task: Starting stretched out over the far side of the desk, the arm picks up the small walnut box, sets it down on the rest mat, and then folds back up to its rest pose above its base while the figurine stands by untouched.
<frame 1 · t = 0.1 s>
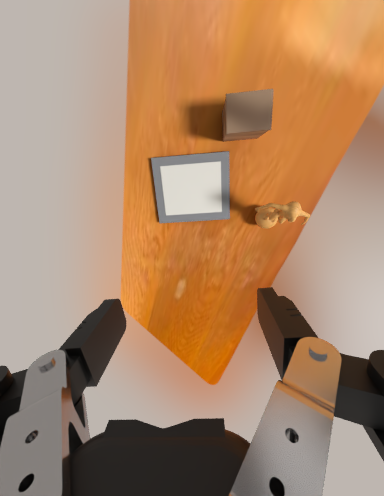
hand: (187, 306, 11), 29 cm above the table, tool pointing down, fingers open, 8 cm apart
walnut box: (240, 125, 33), on the table
rest mat: (192, 189, 37), on the table
figurine: (264, 210, 38), on the table
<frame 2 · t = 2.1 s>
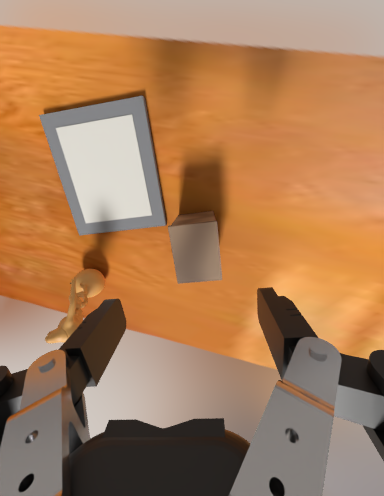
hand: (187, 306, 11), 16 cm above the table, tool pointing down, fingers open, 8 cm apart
walnut box: (198, 235, 26), on the table
rest mat: (110, 174, 24), on the table
figurine: (104, 276, 29), on the table
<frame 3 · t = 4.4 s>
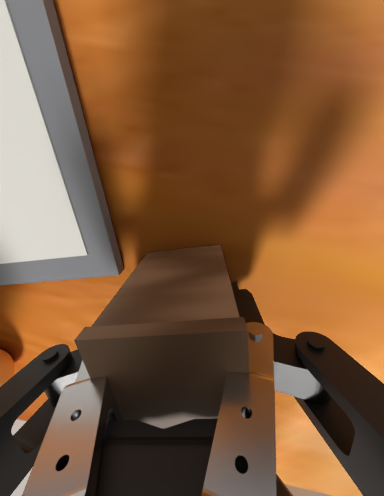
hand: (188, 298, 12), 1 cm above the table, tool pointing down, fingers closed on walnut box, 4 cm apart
walnut box: (190, 290, 13), on the table, touching gripper
figurine: (18, 355, 16), on the table
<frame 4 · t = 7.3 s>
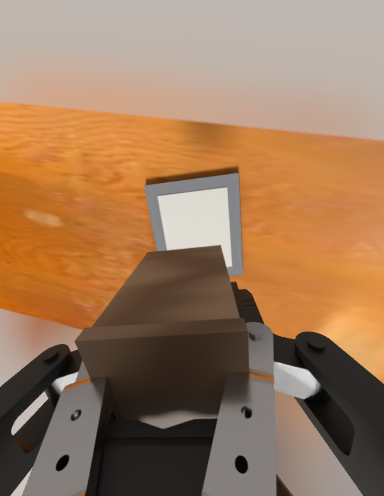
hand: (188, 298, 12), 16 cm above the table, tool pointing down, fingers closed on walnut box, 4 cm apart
walnut box: (190, 291, 13), point 15 cm above the table, touching gripper
rest mat: (196, 231, 27), on the table
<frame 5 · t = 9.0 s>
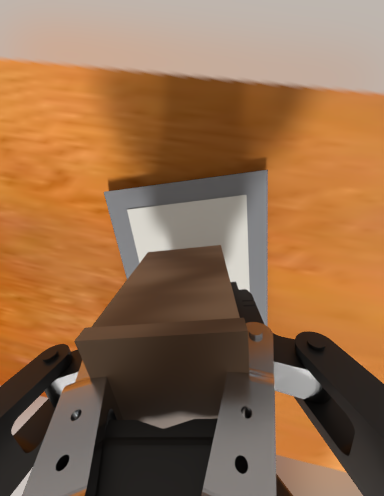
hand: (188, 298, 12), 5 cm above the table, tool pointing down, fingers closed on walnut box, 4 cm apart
walnut box: (190, 291, 13), point 4 cm above the table, touching gripper
rest mat: (194, 264, 17), on the table
when the fingers open (3 cm above the table, at t = 10.4 s): walnut box stays where it is, resting on rest mat.
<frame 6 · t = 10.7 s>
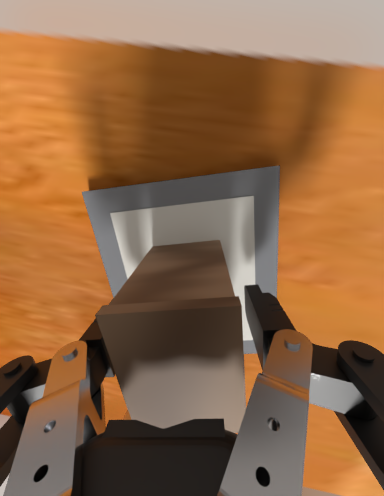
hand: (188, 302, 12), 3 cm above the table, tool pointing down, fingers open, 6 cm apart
walnut box: (191, 282, 14), point 1 cm above the table, touching rest mat
rest mat: (191, 276, 15), on the table
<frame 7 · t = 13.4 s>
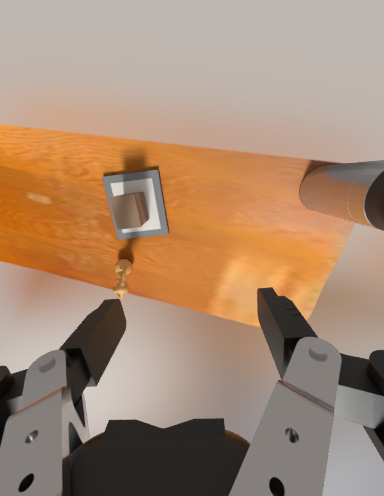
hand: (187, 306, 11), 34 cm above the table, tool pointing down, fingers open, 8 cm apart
walnut box: (136, 206, 43), point 1 cm above the table, touching rest mat
rest mat: (137, 206, 43), on the table
figurine: (130, 264, 49), on the table
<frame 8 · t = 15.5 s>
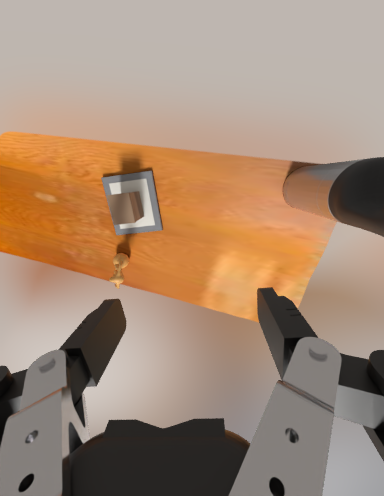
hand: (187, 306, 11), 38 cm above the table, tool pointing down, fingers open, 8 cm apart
walnut box: (132, 204, 47), point 1 cm above the table, touching rest mat
rest mat: (133, 204, 47), on the table
figurine: (128, 258, 53), on the table
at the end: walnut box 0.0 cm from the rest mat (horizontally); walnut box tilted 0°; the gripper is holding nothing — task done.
